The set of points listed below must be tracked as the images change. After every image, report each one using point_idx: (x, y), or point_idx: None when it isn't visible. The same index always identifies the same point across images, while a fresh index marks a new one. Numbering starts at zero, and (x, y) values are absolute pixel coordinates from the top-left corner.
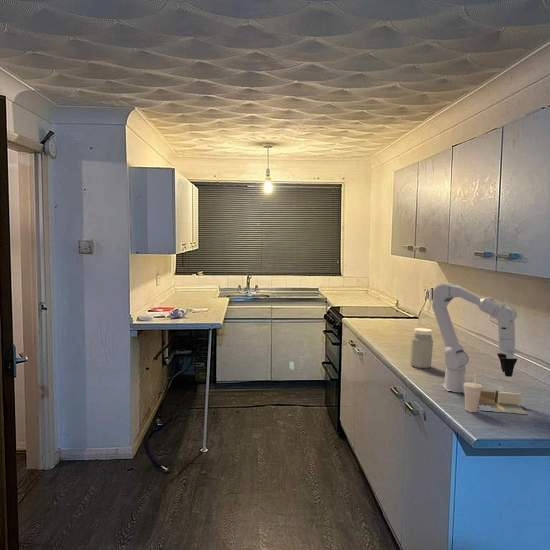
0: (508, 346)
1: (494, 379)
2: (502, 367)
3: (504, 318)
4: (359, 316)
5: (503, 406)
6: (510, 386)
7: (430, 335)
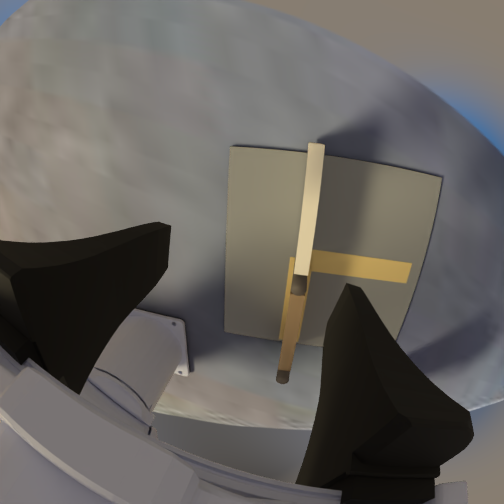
0: None
1: (11, 142)
2: (145, 291)
3: None
4: None
5: (350, 245)
6: (54, 98)
7: None
